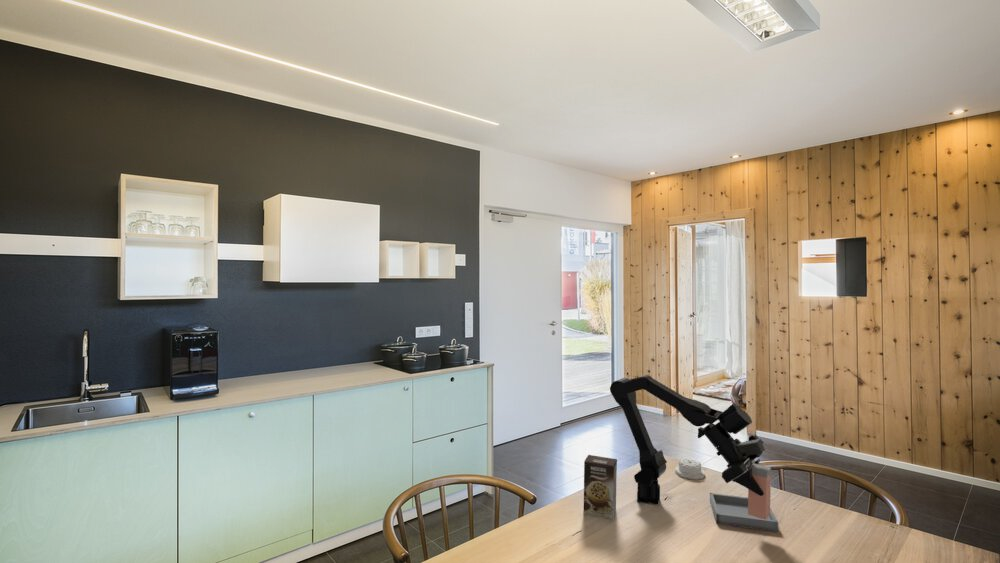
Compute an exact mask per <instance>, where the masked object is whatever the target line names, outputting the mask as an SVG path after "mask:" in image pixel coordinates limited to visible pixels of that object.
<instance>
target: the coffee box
mask: <svg viewBox="0 0 1000 563" xmlns="http://www.w3.org/2000/svg"><path fill="white" fill-rule="evenodd" d="M583 464H584V466H583V511H582V512H583V515H588V516H592V517H599V518H602V519H603V518H604V519H608V520H611V521H612V520H614V518H615V515H616V512H617V474H618V472H617V470H618V459H617V458H612V457H611V458H610V457H604V456H601V455H599V456H598V455H592V454H588V455H587V456H586V458H585V459H584V463H583Z"/></svg>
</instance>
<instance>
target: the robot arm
mask: <svg viewBox="0 0 1000 563" xmlns="http://www.w3.org/2000/svg"><path fill="white" fill-rule="evenodd" d="M609 390H610V395H611V396H612V397H613V399H614V401H615V402H616V404H618V405H619V406H620V407H621V409H622V410H623V413H624V416H625V418H626V421H627V423H628V425H629V428H630V431H631V433H632V436H633V439H634V441H635V444H636V447H637V449H638V451H639V452H638V453H639V455H638V458H639V466H640V470H639V471H637V472H636V473H635V474H634V475H633V478H634V481H635V483H637V492H636V502H637V503H644V504H652V505H659V501H660V500H661V486H660V484H659V480H658V479H659V478H660V477H661V476H662V475H663V474H664V473H665V472H666V469H667V463H668V461H667V459H665V456H664V452H663V449H660V450H657V449H656V447H655V446H654V445H653V442H652V440H651V437H650V435H649V432H648V430H647V428H646V425H645V423H644V419H643V418H642V415H641V412H640V410H639V407H638V405H637V392H638V391H641V390H643V391H646V392H648V393H649V394H651V395H652V396H654V397H655V398H657V399H659V400H661V401H662V402H664V403H665V404H667V405H669V406H670V407H672V408H673V409H675V410H676V411H678V413H680V414H681V416H682V417H683V418H684V419H685V420H686V421H688V422H689V423H690V424H691V425H693V426H695V427H698V428H697V438H698V439H700V438H702V437H704V436H705V437H706V438H707V439H708V440H709V442H710V444H712V446H714V449H715V450H716V451H717V452H716V455H717V456H721V457H722V458H723V459H724V460H725V461H726V463H727V464H726V467H727V468H725V469H724V470H723V471H722V473H721V478H722V479H723V481H724V483H726V484H728V483H730V482H733V483H736V484H738V485H740V486H742V487H744V488H746V489H747V490H748V489H749V490H751V491H753V492H755V493H756V494H758V495H760V496H762V495H764V493H763V491H762V489H761V488H760V486H759V485H758V483H757V482H756V481H755V479H754V478H753V476H752V467H751V468H750V469H749V467H750V466H751V465H752V464H753V463H755V464H758V465H760V462H761V459H760V457H761V456H763V452H764V451H766V449H765V447H764V441H763V439H762V438H760V437H758V436H757V435H756V434H752V435H751V434H750V436H748V440H746V441H742V442H741V440H740V439H739V438H738V439H737V438H733V436H732V435H731V434H733V435H737V434H738V433H739V432H741V431H743V430H744V429H745V428H748V426H750V425H751V424H752V423H753V421H752V418H751V416H750V415H749V413H747V412H746V411H747V410H743V408H741V407H739V406H738V405H736V404H735V403H732V404H731V405H730V406H728V407H727V409H725V410H724V411H721V410H718V409H714V408H711V406H709V405H708V404H706V403H705V402H701V401H699V400H697V399H693V398H688V397H686V396H684V395H682V394H680V393H678V392H677V391H675V390H674V389H672V388H670V387H669V386H667V385H665V384H663V383H661V382H659V381H658V380H656V379H655V378H653V377H652V376H651V375H648V374H645V375H643V376H639V377H634V378H630V379H629V378H627V377H622V378H620V379H617V380H615V381H613V382H612V383H611V385H610V387H609ZM717 421H718V422H717ZM715 422H717V423H715ZM714 423H715V424H714ZM705 425H706V426H705ZM702 426H704V427H702ZM757 458H758V459H757ZM755 459H757V460H755Z"/></svg>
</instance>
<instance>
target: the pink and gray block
mask: <svg viewBox="0 0 1000 563" xmlns="http://www.w3.org/2000/svg"><path fill="white" fill-rule="evenodd" d="M751 467H752V476H753V478H754V479H755V481H756V482H757V483H758V485H759V486H760V488H761V489H762V491H763V493H764V495H762V496H760V495H758V494H756V493H755V492H753V491H751V490H749V489H748V488H747V490H748V491H747V492H748V493H747V496H748V514H749V515H752V516H755V517H758V518H761V519H764V520H766V519H767V517H768V516H769V515H770V508H771V494H772V493H771V488H772V487H771V484H772V480H771V479H772V467H769V466H766V465H765V466H764V465H763V464H759V465H758V464H755V463H753V464H752V465H751V466H750V467H749V469H750V468H751Z"/></svg>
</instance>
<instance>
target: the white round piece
mask: <svg viewBox="0 0 1000 563" xmlns="http://www.w3.org/2000/svg"><path fill="white" fill-rule="evenodd" d="M674 471H675V472H674V473H676V475H677V476H679V477H681V478H685V479H687V480H688V479H689V480H700V479H703V478H705V477H706V473H705V470H704V469H702V464H701V461H697V460H695V459H690V458H684V459H680V460H679V461H678V465H677V466H675V470H674Z"/></svg>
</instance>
